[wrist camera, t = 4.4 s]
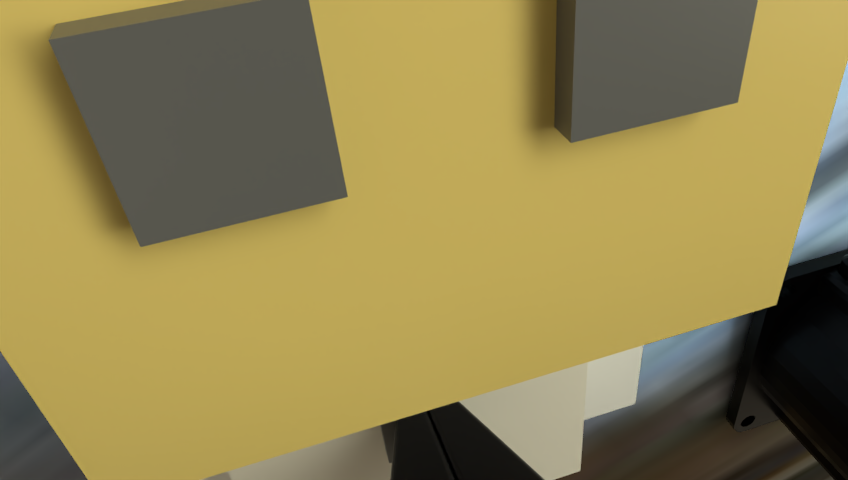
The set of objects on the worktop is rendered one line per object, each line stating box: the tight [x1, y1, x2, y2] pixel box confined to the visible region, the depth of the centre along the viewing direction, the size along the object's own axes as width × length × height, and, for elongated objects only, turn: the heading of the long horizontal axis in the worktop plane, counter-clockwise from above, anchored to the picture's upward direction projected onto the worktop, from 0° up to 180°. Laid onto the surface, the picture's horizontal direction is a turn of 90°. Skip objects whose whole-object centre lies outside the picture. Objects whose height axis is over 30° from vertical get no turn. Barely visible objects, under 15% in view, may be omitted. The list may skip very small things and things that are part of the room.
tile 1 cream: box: [228, 362, 588, 480], centre depth 11 cm, size 5×5×5 cm
